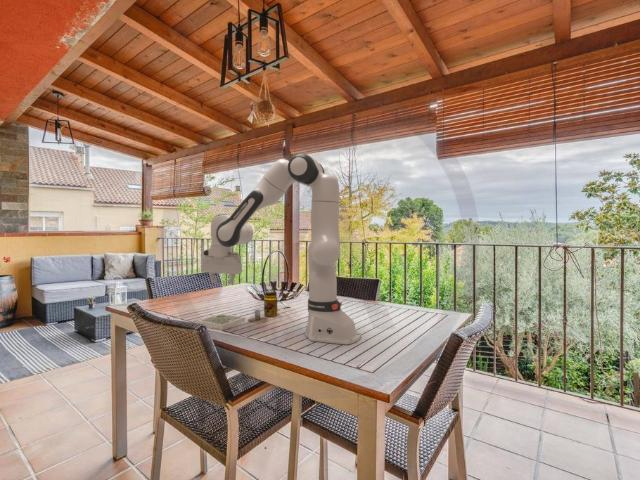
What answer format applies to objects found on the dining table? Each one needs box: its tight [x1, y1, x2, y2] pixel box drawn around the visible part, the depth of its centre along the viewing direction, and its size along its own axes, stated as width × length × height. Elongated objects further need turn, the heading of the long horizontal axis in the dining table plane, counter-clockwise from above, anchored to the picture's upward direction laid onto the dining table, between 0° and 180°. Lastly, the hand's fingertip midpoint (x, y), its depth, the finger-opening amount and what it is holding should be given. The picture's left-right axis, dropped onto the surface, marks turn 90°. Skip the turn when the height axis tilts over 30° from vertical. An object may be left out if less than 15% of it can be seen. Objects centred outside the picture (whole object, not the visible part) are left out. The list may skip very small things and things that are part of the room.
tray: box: [197, 313, 246, 330], centre depth 151 cm, size 14×14×2 cm
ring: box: [213, 314, 230, 324], centre depth 151 cm, size 6×6×3 cm
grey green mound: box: [247, 309, 268, 324], centre depth 156 cm, size 9×9×5 cm
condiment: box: [263, 290, 278, 318], centre depth 165 cm, size 7×8×12 cm
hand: (222, 283), depth 151 cm, fingers open, 8 cm apart
